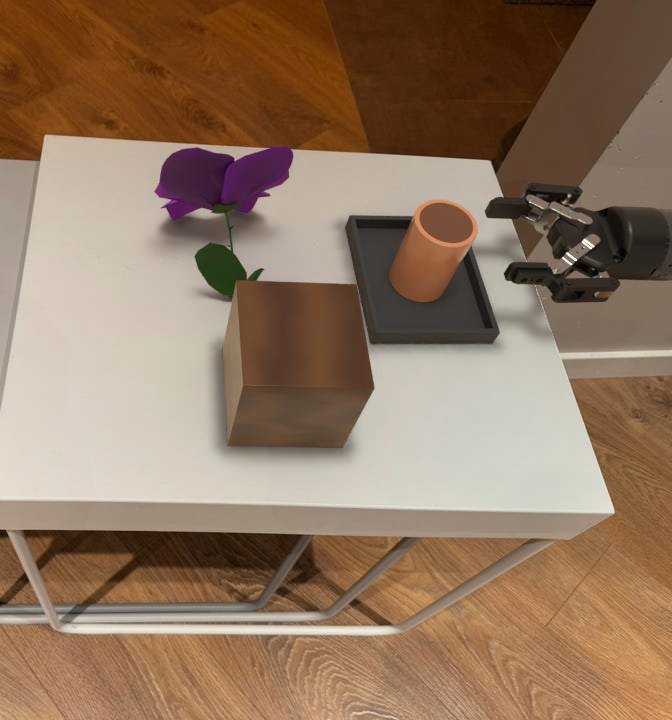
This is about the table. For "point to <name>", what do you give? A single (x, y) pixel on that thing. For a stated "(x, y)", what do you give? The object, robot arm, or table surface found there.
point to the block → (295, 364)
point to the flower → (220, 198)
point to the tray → (406, 317)
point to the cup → (432, 250)
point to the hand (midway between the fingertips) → (497, 239)
